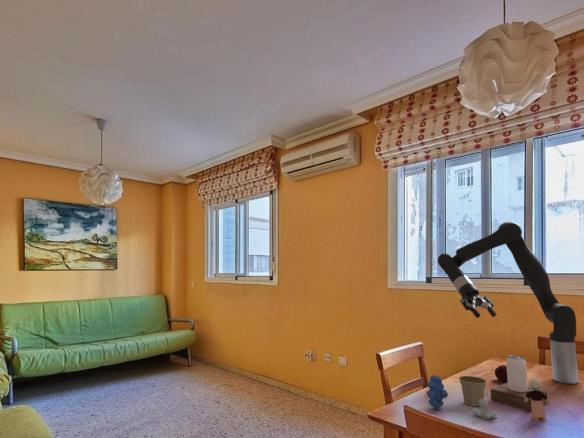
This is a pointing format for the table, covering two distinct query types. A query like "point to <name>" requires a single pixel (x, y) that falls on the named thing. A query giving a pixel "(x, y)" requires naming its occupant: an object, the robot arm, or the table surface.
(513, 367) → the can
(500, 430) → the table surface
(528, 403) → the walnut block
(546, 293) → the robot arm
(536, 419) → the grandmother figurine
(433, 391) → the grapes
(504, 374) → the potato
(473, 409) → the pacifier
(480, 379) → the flower pot
